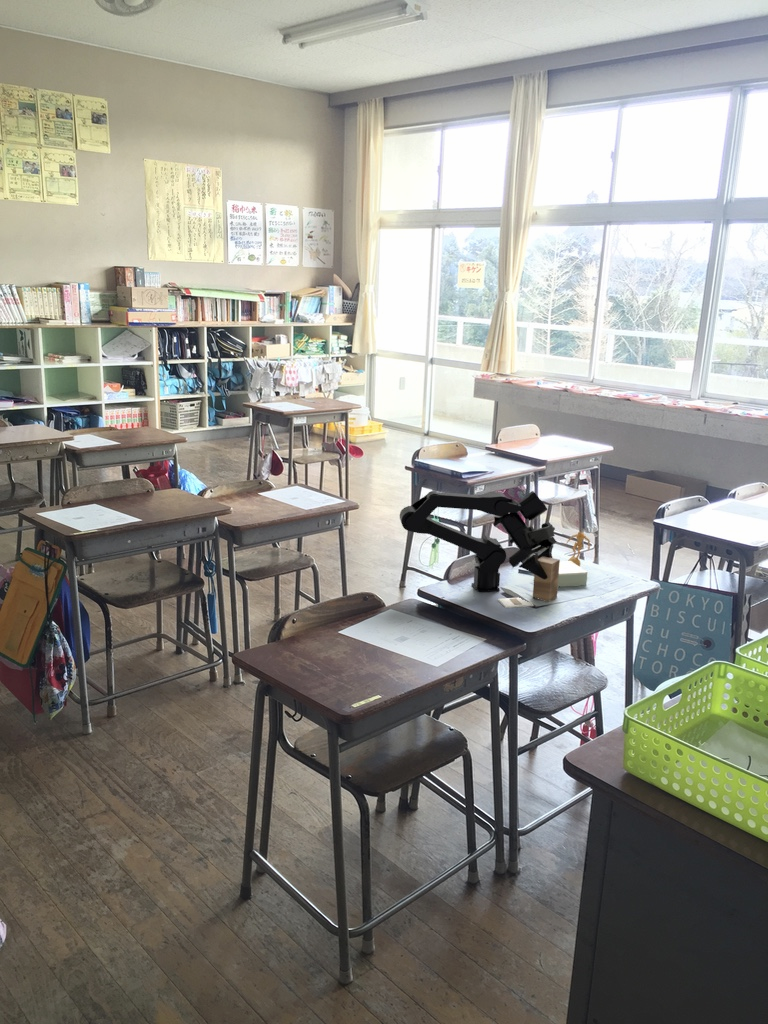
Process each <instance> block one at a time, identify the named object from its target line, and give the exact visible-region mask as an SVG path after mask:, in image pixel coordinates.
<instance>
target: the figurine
mask: <svg viewBox="0 0 768 1024" xmlns="http://www.w3.org/2000/svg"><path fill="white" fill-rule="evenodd" d="M573 538H576V542H574V545H573V547H572V548H571V549H572V552H573V554H572V556H571V557H570V558H569V559H568V560H567V561H572V562H573V563H575V564H576V565H578V566H579V567H581V561H580V559H579V557H580V553H581V549H582V547H583V545H584V544H583V543H582V542H583V541H584V540H585V541H587V546H588V547H587V550H588V551H590V550H591V549H590V547H591V543H590V542H591V540H590V538H588V537H587V536H586V535H585V533H584V532H582V531H578V532H577V533H576V534H573V535H572V536H570V538H568V540H567V541H566V543H565V545H567V544H568V542H570V541H571V540H572V539H573ZM576 549H577V552H576ZM576 553H577V556H575V555H576Z"/></svg>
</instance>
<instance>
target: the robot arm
mask: <svg viewBox="0 0 768 1024" xmlns="http://www.w3.org/2000/svg"><path fill="white" fill-rule="evenodd" d="M437 508H445V509H458V510H459V509H460V510H472V511H474V510H475V511H480V512H483V513H485V514H487V515H493V516H494V518H493V519H494V521H493V526H494V528H497V527H499V526H500V525H501V526H502V528H503V529H504V531H505V532H506V533H507V535H508V536H509V538H510V540H509V543H510V544H515V546H516V548H517V549H518V551H516V552H515V553H514V554H513V555H511V556H510V557H509V558H508V559H509V560H508V562H509V563H508V564H510V565H511V567H512V568H516V567H518V568H522V569H524V570H526V571H528V572H530V573H532V574H535V575H537V576H539V577H540V578H542V579H544V580H545V579H547V575H546V573H545V572H544V570H543V568H542V567H541V565H540V563H539V562H538V559H539V558H541V557H543V556H545V557H549V558H553V555H552V551H553V548H554V545H555V544H556V543H557V540H556V539H555V538H554V537H555V530H556V528H555V526H553V524H551V522H549V521H547V522H544V523H542V524H541V527H539V528H537V529H535V528H534V527H533V526H531V525H530V526H528V525H527V523H526V522H525V521H531V522H532V521H534V520H535V519H537V518H538V517H539V516H541V515H542V514H544V513H545V512H546V511H548V508H547V506H546V504H545V503H544V501H542V500H541V498H539V496H538V495H537V493H536V492H535V491H534V490H531V491H530V492H529V493H528V494H526V496H524V497H523V498H522V499H520V500H519V501H517V499H513V498H509V497H507V496H506V495H505V494H504V492H503V493H502V492H501V491H492V492H491V491H490V492H484V493H480V494H469V493H456V492H439V491H435V490H432V491H429V492H428V493H427V494H425V495H424V496H422V497H421V498H420V499H419V498H418V500H416V501H415V502H413V503H412V504H411V505H407V506H404V507H403V508H402V509H401V510H400V513H399V520H400V522H401V526H402V527H403V529H404V530H406V531H407V532H412V533H416V534H420V535H421V534H422V535H423V534H424V535H431V536H433V537H435V538H437V539H440V540H442V541H445V542H447V543H450V544H452V545H454V546H456V547H459V548H461V549H465V550H466V551H469V552H471V553H474V554H475V556H474V562H475V564H477V565H475V566H474V571H473V573H474V574H473V582H472V583H471V586H472V587H473V588H474V589H475V590H476V591H477V592H479V593H483V592H484V593H485V592H498V591H500V588H499V587H500V580H501V579H500V578H501V577H500V576H501V573H500V572H499V571H500V570H499V569H500V567H501V566H502V565H503V564H504V563H505V561H506V559H507V552H506V550H505V549H504V547H503V546H502V544H501V543H500V542H499V541H498V539H497V538H495V537H494V538H493V537H490V536H489V535H488V534H485V533H484V534H483V537H482V538H481V537H475V536H472V535H470V534H467V533H465V532H463V531H461V530H459V529H455V528H453V527H450V526H448V525H446V524H443V523H441V522H439V521H436V520H434V519H433V518H431V517H430V515H431V514H432V513H433V512H434V511H435V510H436V509H437ZM519 513H520V514H519ZM521 516H522V517H523V518H522V517H521ZM524 520H525V521H524ZM520 563H521V564H520Z"/></svg>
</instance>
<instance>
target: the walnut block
mask: <svg viewBox="0 0 768 1024" xmlns="http://www.w3.org/2000/svg"><path fill="white" fill-rule="evenodd" d="M560 561H561V559H558V558H554V557H552V558H549V557H545V556H543V557H541V558H539V559H538V562H539V563H540V565H541V567H542V568H543V570H544V572H545V573H546V575H547V579H545V580H544V579H542V578H540V577H539V576H537V575H535V574H534V575H533V588H532V598H533V597H536V598H539V599H538V600H540V599H542V600H541V601H544V600H545V601H544V602H551V601H553V600H555V599H556V598H557V597H558V588H559V587H558V576H559V563H560ZM536 598H535V599H536Z"/></svg>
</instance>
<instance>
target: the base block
mask: <svg viewBox="0 0 768 1024" xmlns="http://www.w3.org/2000/svg"><path fill="white" fill-rule="evenodd" d="M587 583H588V571H587V570H585V569H583V567H581V566H580V567H579V566H578V565H576V564H575V563H573V562H572V561H568V560H560V563H559V576H558V588H559V586H560V587H577V586H578V587H579V586H587Z"/></svg>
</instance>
